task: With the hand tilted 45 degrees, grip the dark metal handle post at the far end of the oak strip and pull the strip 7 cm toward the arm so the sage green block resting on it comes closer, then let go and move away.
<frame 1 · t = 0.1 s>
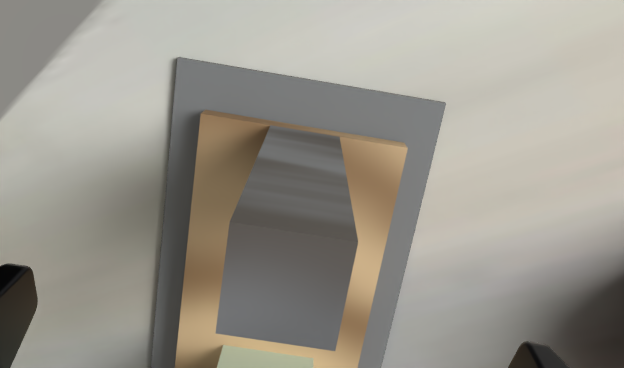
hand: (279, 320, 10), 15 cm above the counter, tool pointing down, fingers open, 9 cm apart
lane mat: (269, 345, 28), on the counter
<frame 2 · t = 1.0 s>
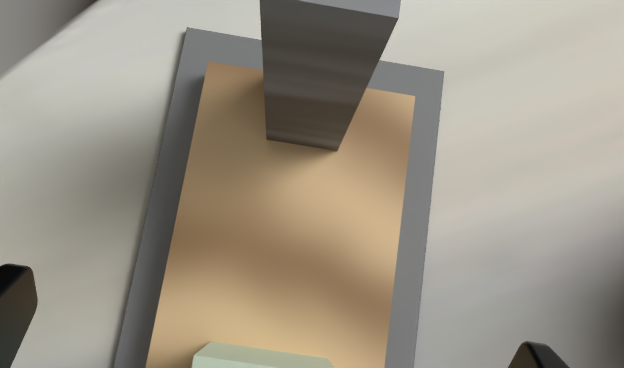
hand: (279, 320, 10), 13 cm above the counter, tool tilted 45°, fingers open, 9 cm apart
pull strip: (283, 274, 16), point 7 cm above the counter, slide at 0.0 cm, touching sage block
lane mat: (266, 364, 22), on the counter
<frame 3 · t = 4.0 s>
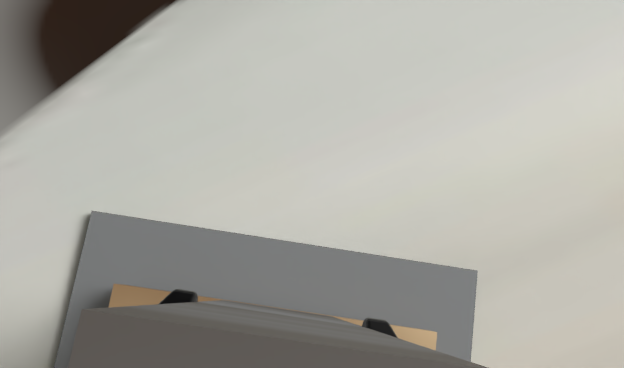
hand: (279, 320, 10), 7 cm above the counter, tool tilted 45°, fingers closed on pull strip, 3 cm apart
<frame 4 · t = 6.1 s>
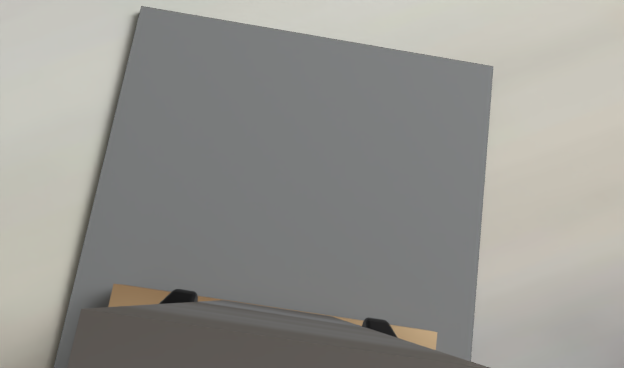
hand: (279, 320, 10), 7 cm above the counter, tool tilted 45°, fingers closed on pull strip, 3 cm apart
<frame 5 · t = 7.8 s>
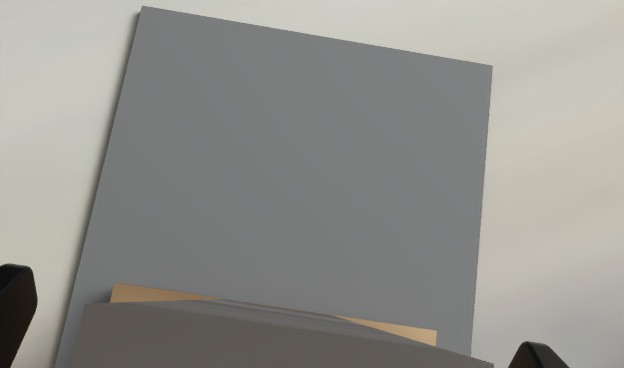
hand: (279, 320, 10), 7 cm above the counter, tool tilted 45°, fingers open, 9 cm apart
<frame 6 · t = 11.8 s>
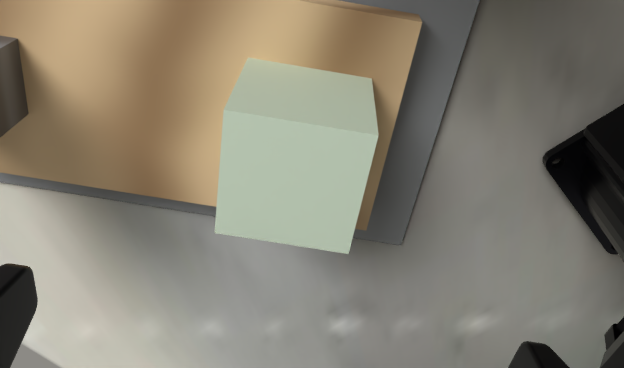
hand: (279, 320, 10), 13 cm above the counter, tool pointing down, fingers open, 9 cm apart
pull strip: (123, 169, 16), point 7 cm above the counter, slide at 7.0 cm, touching sage block
lane mat: (94, 71, 21), on the counter
sage block: (301, 123, 20), point 2 cm above the counter, touching pull strip
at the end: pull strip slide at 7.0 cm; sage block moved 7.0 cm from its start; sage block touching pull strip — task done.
